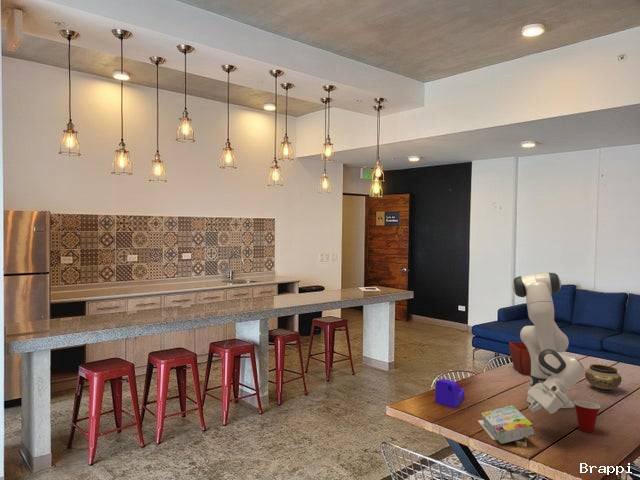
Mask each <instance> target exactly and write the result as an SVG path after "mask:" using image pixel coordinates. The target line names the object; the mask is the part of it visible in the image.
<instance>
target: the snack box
mask: <svg viewBox="0 0 640 480" xmlns="http://www.w3.org/2000/svg"><path fill="white" fill-rule="evenodd" d="M481 418H482V420H483V422H484V424H485V425H486V426H487V427H488V429H489V430H490V431H491V432H492V434H493V435H494V436H495V437H496V438H497V440H496V441H498V442H499V443H500V444H501V445H502V444H507V443H511V442H514V441H515V440H519V439H523V438H526V439H527V438H530V437H533V436H534V437H535V436H536V433H535V429H534V425H533V423H532V422H531V421H530V420H529V419H528V418H526V416H524V414H522V412H520V410H518V409H517V408H516V407H515V405H513V404H510V405H507V406H502V407H498V408H495V409H491V410H487V411H483V412H481Z"/></svg>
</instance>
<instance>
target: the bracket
mask: <svg viewBox="0 0 640 480" xmlns="http://www.w3.org/2000/svg"><path fill="white" fill-rule="evenodd" d="M434 390H435V396H434V403H437V404H440V405H442V406H446V407H448V408H453V409H455V408H457V407H459V406H460V405H461V403H462V402H463V401H464V399H465V392H466V391H465V389H464V388H460V385H459V383H458V382H457V381H454V380H450V379H446V378H441V379H439V380H436V381H435V389H434Z"/></svg>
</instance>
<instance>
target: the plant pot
mask: <svg viewBox="0 0 640 480" xmlns="http://www.w3.org/2000/svg"><path fill="white" fill-rule="evenodd" d="M508 347H509V353H510V357H511V362H512V365H513V368H514V370H516V371H517V372H518V373H519V374H521V375H523V376H530V374H531V358H530V354H529V351H528V349H527V347H526V345H525V344H524V343H523V342H522V341H509V342H508Z"/></svg>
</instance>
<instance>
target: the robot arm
mask: <svg viewBox="0 0 640 480" xmlns="http://www.w3.org/2000/svg"><path fill="white" fill-rule="evenodd" d="M511 287H512V291H513V293H514V294H515V296H516V297H519V298H526V301H525V302H526V307H527V314H528V318H529V320H530V322H532V324H533V325H525V326H523V327H522V329H521V330H520V331H519V332H520V334H519V337H520V340H521V342H523V343H524V344H525V345H526V347H527V349H528V351H529V354H530V358H531V374H530V375H529V388H528V390H527V398H526V401H527V403H530V405H529V406H528V410H529V411H530V412H531V413H533V414H534V413H535V412H536V411H539V410H541V409H542V408H543V409H544V410H546V411H547V412H548V413H549V414H551V415H552V414H554V413H556V412H557V411H558V410H559V409H570V408H571V409H575V404H574V401H573V400H570V394H569V392H568V391H569V389H570V388H571V387H573V386H575V385H576V384H577V383H578V382H579V381H580V380H581V379H582V377H583V376H585V371H586V370H585V367H584V365H583V364H582V363H581V361H579V359H578V358H576V357H574V356H569V355H565V354H563V353H564V352H565V351H567V349H568V348H569V344H570V342H569V338H568V336H567V334H565V333H564V332H563V331H562V330H561V329H560V328H559V326H558V324H557V323H556V321H555V306H554V301H553V297H552V295H555V294H558V293H559V292H560V291H561V288H562V280H561V279H560V277H559V275H558V274H557V273H555V272H544V273H542V272H541V273H540V272H539V273H533V274H527V275H523V276H522V275H519V276H516V277H514V279H513V282H512V285H511Z"/></svg>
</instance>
